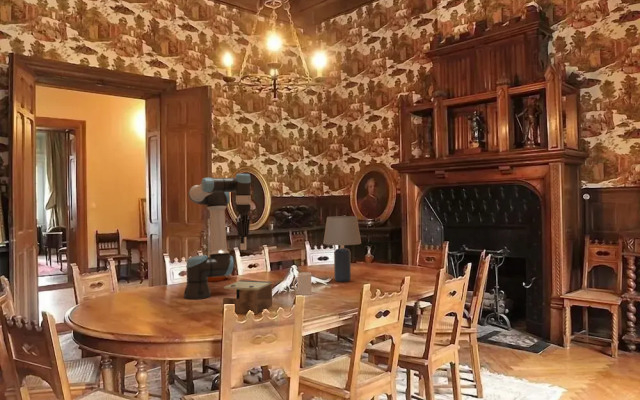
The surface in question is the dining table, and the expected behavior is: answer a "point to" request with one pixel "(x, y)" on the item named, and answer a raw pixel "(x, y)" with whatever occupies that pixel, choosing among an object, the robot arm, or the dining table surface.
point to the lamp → (342, 243)
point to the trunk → (251, 300)
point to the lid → (248, 285)
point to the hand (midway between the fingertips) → (243, 249)
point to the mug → (303, 283)
